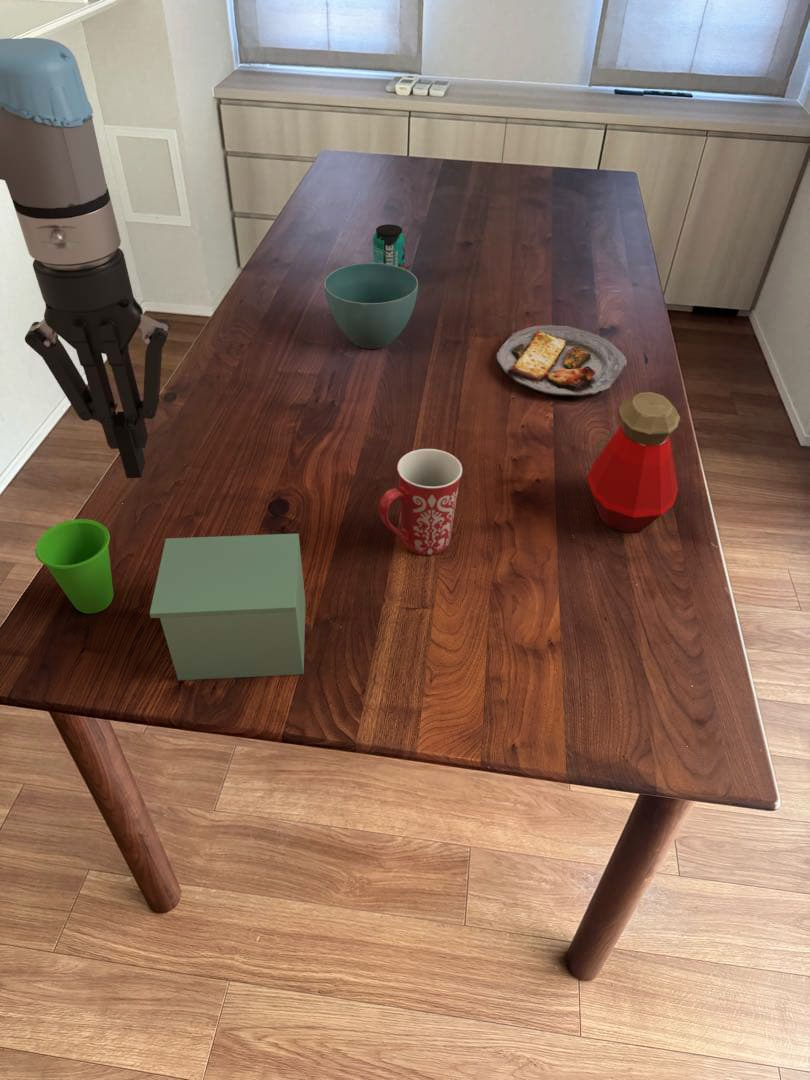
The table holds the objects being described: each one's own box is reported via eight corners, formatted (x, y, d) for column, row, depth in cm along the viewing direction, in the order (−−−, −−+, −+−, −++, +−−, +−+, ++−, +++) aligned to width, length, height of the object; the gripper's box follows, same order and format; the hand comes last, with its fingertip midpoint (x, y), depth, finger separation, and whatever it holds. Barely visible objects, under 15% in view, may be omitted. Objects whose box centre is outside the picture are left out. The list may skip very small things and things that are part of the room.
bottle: (671, 553, 117) (709, 443, 103) (579, 540, 119) (604, 431, 105) (665, 487, 128) (699, 380, 115) (581, 476, 130) (604, 369, 116)
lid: (150, 618, 91) (149, 613, 90) (166, 542, 100) (165, 538, 99) (296, 611, 92) (295, 607, 91) (299, 537, 101) (298, 533, 100)
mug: (434, 511, 123) (437, 440, 114) (468, 545, 118) (475, 473, 108) (364, 540, 118) (362, 469, 109) (396, 577, 113) (397, 505, 103)
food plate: (593, 417, 143) (597, 400, 140) (477, 381, 151) (478, 364, 149) (636, 356, 159) (640, 340, 156) (529, 326, 167) (531, 310, 164)
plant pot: (309, 336, 162) (305, 279, 154) (376, 309, 171) (376, 254, 163) (366, 372, 153) (365, 313, 144) (434, 341, 162) (437, 284, 153)
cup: (54, 629, 105) (28, 570, 97) (65, 580, 111) (41, 521, 104) (125, 621, 106) (104, 563, 98) (131, 573, 112) (112, 515, 105)
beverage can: (409, 278, 182) (410, 226, 174) (396, 291, 178) (397, 238, 170) (381, 272, 184) (381, 220, 176) (368, 284, 180) (367, 232, 172)
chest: (178, 680, 99) (159, 618, 91) (190, 605, 108) (174, 542, 100) (303, 674, 100) (296, 612, 92) (305, 600, 109) (299, 538, 101)
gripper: (-15, 273, 65) (65, 494, 81) (147, 270, 66) (194, 490, 82) (11, 236, 70) (81, 450, 86) (160, 234, 71) (202, 447, 87)
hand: (136, 469), depth 84 cm, fingers closed
